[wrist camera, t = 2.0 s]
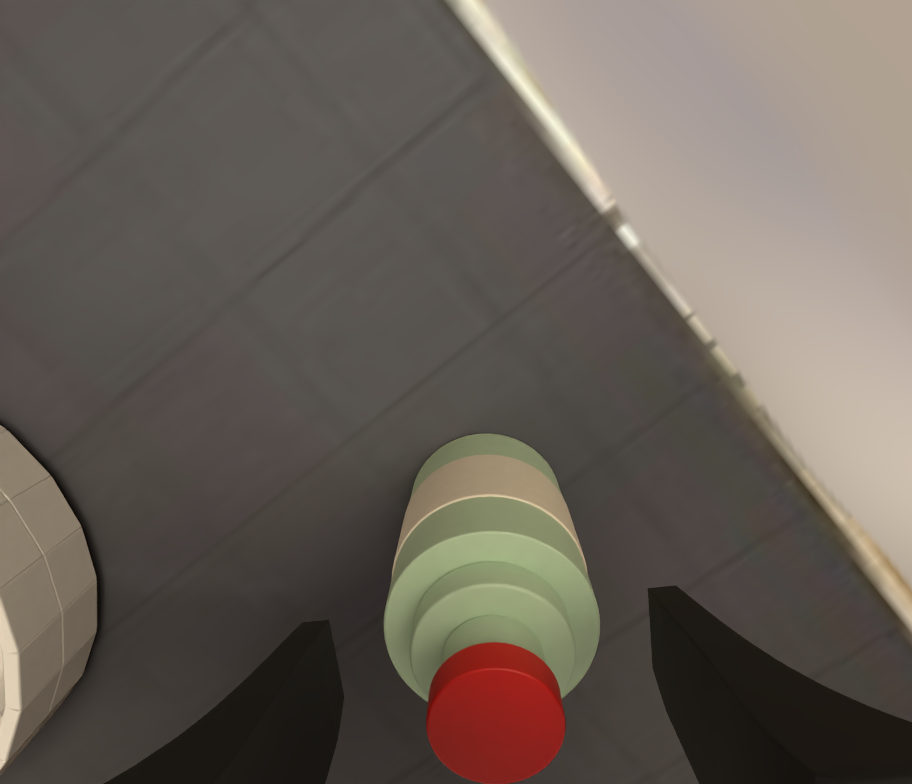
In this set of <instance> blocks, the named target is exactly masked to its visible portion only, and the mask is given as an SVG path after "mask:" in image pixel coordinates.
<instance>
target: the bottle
mask: <svg viewBox="0 0 912 784" xmlns="http://www.w3.org/2000/svg"><path fill="white" fill-rule="evenodd" d="M599 635H600V616H599V610H598V605H597V602H596V599H595V596H594V592H593V589H592V586H591V583H590V580H589V577H588V573H587V567H586V562H585V559H584V556H583V552H582V549H581V546H580V543H579V540H578V537H577V534H576V531H575V528H574V525H573V522H572V519H571V516H570V513H569V510H568V507H567V505H566V503H565V501H564V498H563V496H562V494H561V491H560V488H559V485H558V482H557V479H556V477H555V475H554V473H553V471H552V469H551V468H550V466H549V465H548V463H547V462H546V461H545V460H544V458H543V457H542V456H541V455H540V454H539V453H537V452H536V451H535V450H534V449H533V448H531V447H530V446H528V445H526V444H525V443H523V442H521V441H519V440H517V439H514V438H511V437H508V436H503V435H498V434H487V433H486V434H474V435H468V436H464V437H461V438H458V439H456V440H453V441H451V442H449V443H447V444H446V445H444V446H442V447H441V448H439V449H438V450H437V451H436V452H435V453H433V454H432V455H431V456H430V457H429V459H428V460H427V461H426V462H425V463H424V465H423V466H422V468H421V469H420V471H419V473H418V475H417V477H416V480H415V482H414V485H413V489H412V494H411V498H410V502H409V504H408V507H407V510H406V513H405V517H404V521H403V525H402V530H401V534H400V538H399V542H398V547H397V551H396V555H395V559H394V564H393V569H392V581H391V585H390V590H389V594H388V598H387V603H386V608H385V613H384V637H385V642H386V646H387V650H388V653H389V655H390V658H391V660H392V663H393V665H394V666H395V668H396V670H397V671H398V673H399V675H400V676H401V677H402V679H403V680H404V681H405V682H406V684H407V685H408V686H409V687H410V688H411V689H412V690H413V691H414V692H415V693H416V694H418V695H419V696H420V697H422V698H423V699H424V700H425V701H427V702H428V707H427V718H426V730H427V736H428V740H429V742H430V745H431V747H432V749H433V751H434V752H435V754H436V756H437V757H438V758H439V759H440V761H441V762H442V763H443V764H444V765H445V766H446V767H448V768H449V769H450V770H452V771H453V772H455V773H456V774H458V775H460V776H462V777H464V778H466V779H469V780H472V781H475V782H479V783H485V784H508V783H514V782H518V781H521V780H524V779H527V778H529V777H531V776H533V775H535V774H537V773H538V772H540V771H541V770H543V769H544V768H545V767H546V766H547V765H548V764H549V763H550V762H551V761H552V760H553V759H554V758H555V756H556V755H557V753H558V751H559V749H560V747H561V745H562V743H563V739H564V736H565V729H566V722H565V715H564V710H563V704H562V698H563V697H564V696H566V695H567V694H568V693H569V692H570V691H571V690H572V689H573V688H574V687H575V686H576V685H577V684H578V683H579V682H580V680H581V679H582V678H583V676H584V675H585V673H586V672H587V670H588V669H589V667H590V665H591V662H592V660H593V658H594V656H595V653H596V649H597V646H598V642H599Z"/></svg>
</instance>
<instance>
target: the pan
mask: <svg viewBox="0 0 912 784" xmlns="http://www.w3.org/2000/svg"><path fill="white" fill-rule="evenodd" d="M96 579H97V577H96V573H95V570H94V566H93V563H92V560H91V556H90V553H89V549H88V546H87V543H86V539H85V536H84V532H83V529H82V527H81V524H80V523H79V521H78V519H77V518H76V516H75V514H74V513H73V511H72V509H71V508H70V506H69V504H68V503H67V501H66V499H65V498H64V496H63V494H62V492H61V491H60V489H59V487H58V486H57V484H56V482H55V481H54V479H53V477H52V476H50V474H49V472H48V471H47V470H46V469H45V468H44V467H43V466H42V465H41V464H40V463H39V462H38V461H37V460H36V459H35V458H34V457H33V456H32V455H31V454H30V453H29V452H28V451H27V450H26V449H25V447H24V446H23V445H22V444H21V443H20V442H19V441H18V440H17V439H16V438H15V437H14V436H13V435H12V434H11V433H10V432H9V431H8V430H6V428H4V427H3V426H1V425H0V776H1V775H2V773H3V772H4V771H5V770H6V769H7V768H8V766H9V765H10V764H11V763H12V762H13V761H14V759H15V758H16V757H17V756H18V755H19V754H20V752H21V751H22V750H23V749H24V748H25V747H26V745H27V744H28V743H29V742H30V741H31V740H32V738H33V737H34V736H35V735H36V734H37V733H38V731H39V730H40V729H41V728H42V727H43V726H44V724H45V723H46V722H47V721H48V720H49V719H50V717H51V716H52V715H53V714H54V713H55V712H56V710H57V709H58V708H59V707H60V705H61V704H62V702H63V701H64V700H65V698H66V697H67V696H68V694H69V693H70V691H71V690H72V689H73V687H74V686H75V685H76V683H77V682H78V680H79V679H80V678H81V676H82V675H83V673H84V670H85V666H86V663H87V660H88V657H89V654H90V651H91V647H92V644H93V641H94V638H95V635H96V631H97V580H96Z"/></svg>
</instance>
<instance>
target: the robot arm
mask: <svg viewBox="0 0 912 784" xmlns="http://www.w3.org/2000/svg"><path fill="white" fill-rule="evenodd" d="M648 598H649V614H650V631H651V647H652V664H653V670H654V674H655V677H656V680H657V683H658V687H659V690H660V693H661V696H662V699H663V702H664V705H665V708H666V711H667V714H668V716H669V718H670V720H671V723H672V725H673V727H674V729H675V731H676V734H677V736H678V738H679V740H680V743H681V745H682V747H683V749H684V751H685V754H686V756H687V758H688V760H689V762H690V764H691V767H692V769H693V771H694V773H695V775H696V778H697V780H698V782H699V784H912V722H909V721H906V720H904V719H901V718H898V717H895V716H893V715H890V714H887V713H885V712H882V711H880V710H877V709H875V708H872V707H869V706H867V705H865V704H862V703H860V702H858V701H856V700H853V699H851V698H849V697H847V696H844V695H842V694H840V693H838V692H836V691H833V690H831V689H829V688H827V687H825V686H823V685H821V684H819V683H817V682H815V681H813V680H812V679H810V678H808V677H806V676H804V675H802V674H801V673H799V672H797V671H795V670H793V669H791V668H790V667H788V666H786V665H785V664H783V663H781V662H780V661H778V660H776V659H775V658H773V657H772V656H770V655H768V654H767V653H765V652H764V651H762V650H761V649H759V648H758V647H756V646H755V645H753V644H752V643H750V642H749V641H747V640H746V639H744V638H743V637H742V636H740V635H739V634H737V633H736V632H735V631H733V630H732V629H730V628H729V627H728V626H726V625H725V624H724V623H722V622H721V621H720V620H718V619H717V618H716V617H715V616H713V615H712V614H711V613H709V612H708V611H707V610H706V609H704V608H703V607H702V606H701V605H699V604H698V603H697V602H696V601H694V600H693V599H692V598H691V597H689V596H688V595H687V594H686V593H685V592H683V591H682V590H681V589H680V588H678V587H677V586H667V587H657V588H648ZM343 701H344V693H343V688H342V683H341V678H340V673H339V668H338V663H337V658H336V653H335V648H334V643H333V638H332V633H331V628H330V623H329V620H324V621H314V622H304V623H302V624H301V625H300V626H299V627H297V628H296V629H295V630H294V631H293V632H292V633H291V634H290V635H289V636H288V637H287V638H286V639H285V640H284V641H283V642H282V644H281V645H280V646H279V647H278V648H277V649H276V650H275V651H274V652H273V653H272V654H271V655H270V656H269V657H268V658H267V659H266V660H265V661H264V662H263V663H262V664H261V665H260V666H259V667H258V668H257V669H256V670H255V671H254V672H253V673H252V674H251V675H250V676H249V677H248V678H247V679H245V680H244V681H243V682H242V683H241V684H240V685H239V686H238V687H237V688H236V689H234V690H233V691H232V692H231V693H230V694H229V695H228V696H227V697H226V698H225V699H223V700H222V701H221V702H220V703H219V704H218V705H217V706H216V707H215V708H213V709H212V710H211V711H210V712H209V713H207V714H206V715H205V716H204V717H203V718H201V719H200V720H199V721H198V722H196V723H195V724H194V725H192V726H191V727H190V728H188V729H187V730H186V731H184V732H183V733H182V734H180V735H179V736H178V737H176V738H175V739H174V740H172V741H171V742H169V743H168V744H166V745H165V746H163V747H162V748H160V749H159V750H157V751H156V752H154V753H153V754H151V755H150V756H148V757H147V758H145V759H144V760H142V761H141V762H139V763H138V764H136V765H135V766H133V767H132V768H130V769H128V770H127V771H125V772H123V773H121V774H120V775H118V776H116V777H115V778H113V779H111V780H110V781H108V782H106V783H104V784H325V782H326V779H327V775H328V772H329V768H330V765H331V761H332V758H333V754H334V751H335V747H336V743H337V739H338V733H339V728H340V722H341V715H342V708H343Z"/></svg>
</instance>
